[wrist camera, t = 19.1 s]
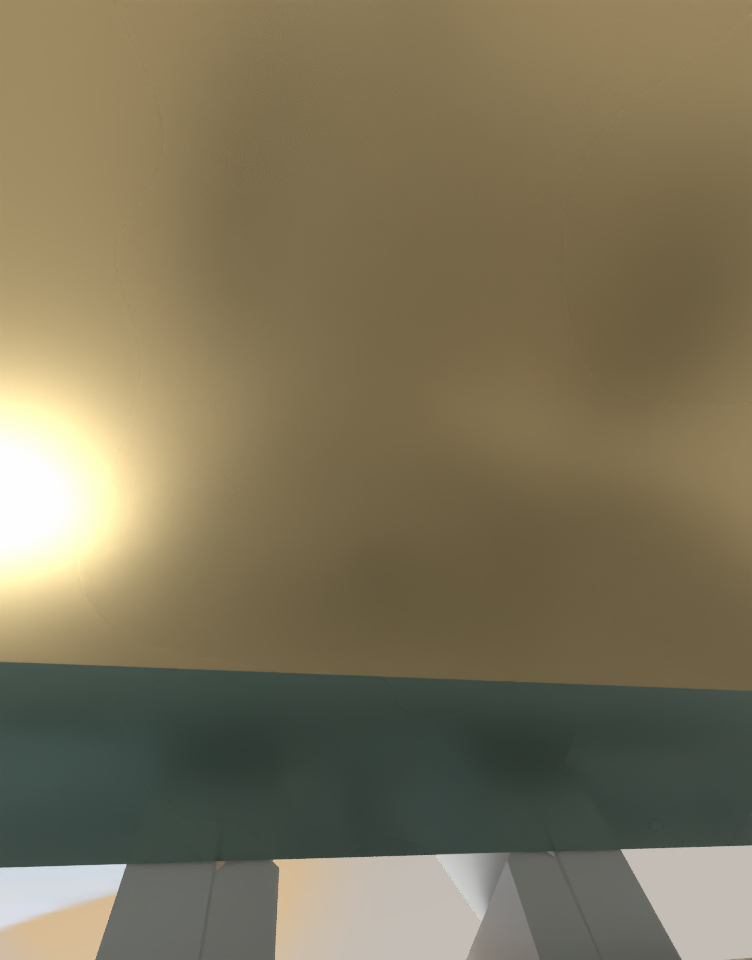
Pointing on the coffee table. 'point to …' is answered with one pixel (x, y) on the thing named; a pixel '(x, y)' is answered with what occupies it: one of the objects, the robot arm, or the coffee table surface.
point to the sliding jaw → (358, 766)
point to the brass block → (378, 338)
